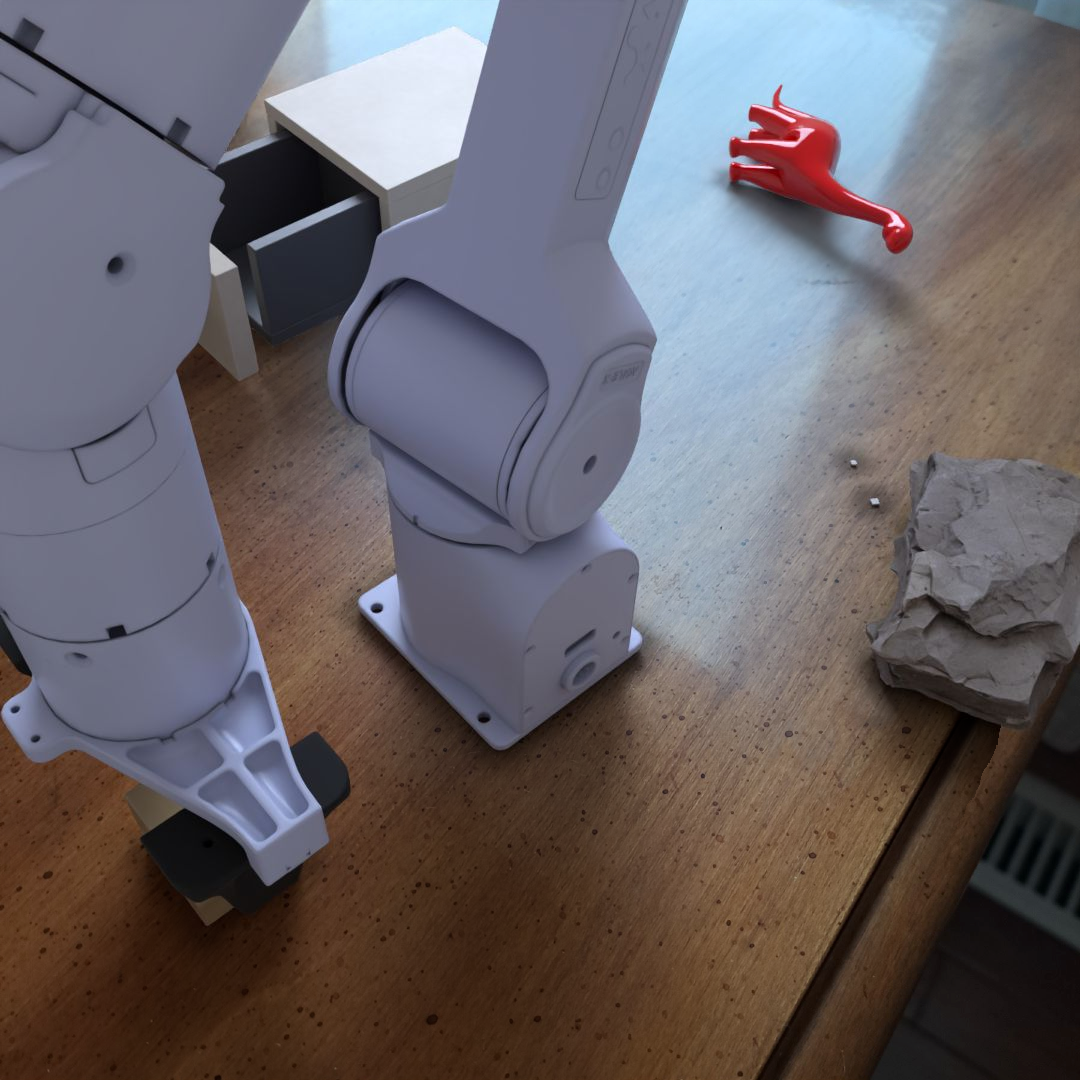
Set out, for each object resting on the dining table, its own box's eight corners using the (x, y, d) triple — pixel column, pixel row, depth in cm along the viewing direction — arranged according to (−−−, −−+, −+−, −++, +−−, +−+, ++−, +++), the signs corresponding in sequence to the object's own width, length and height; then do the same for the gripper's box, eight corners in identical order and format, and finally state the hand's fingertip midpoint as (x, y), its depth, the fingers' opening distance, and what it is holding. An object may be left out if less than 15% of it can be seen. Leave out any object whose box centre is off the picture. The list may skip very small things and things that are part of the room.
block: (303, 857, 43) (288, 804, 40) (207, 927, 41) (183, 878, 38) (243, 782, 45) (224, 727, 42) (148, 847, 43) (121, 793, 40)
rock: (1080, 763, 46) (1120, 712, 43) (848, 691, 48) (870, 637, 45) (1105, 513, 54) (1140, 454, 51) (904, 459, 56) (927, 400, 53)
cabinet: (398, 324, 63) (387, 190, 56) (285, 232, 68) (263, 99, 61) (575, 233, 68) (582, 102, 62) (458, 154, 73) (454, 25, 67)
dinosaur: (777, 113, 78) (971, 140, 73) (688, 242, 69) (901, 282, 65) (779, 55, 75) (981, 79, 70) (687, 182, 66) (909, 220, 62)
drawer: (164, 419, 56) (132, 314, 51) (69, 321, 61) (32, 216, 56) (425, 287, 63) (419, 183, 58) (323, 208, 68) (309, 105, 63)
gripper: (-163, 467, 32) (-1, 734, 42) (101, 849, 25) (218, 1056, 35) (79, 356, 35) (175, 630, 45) (373, 667, 28) (408, 906, 38)
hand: (206, 808), depth 41 cm, fingers open, 7 cm apart
